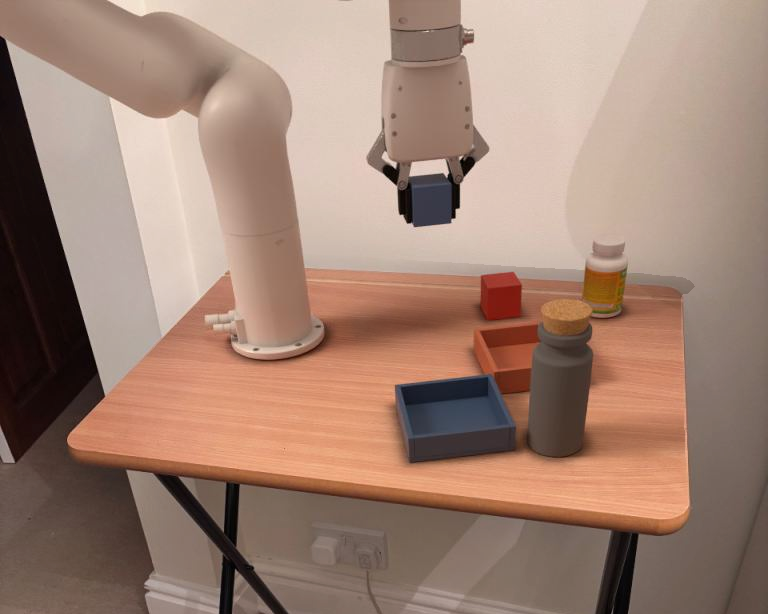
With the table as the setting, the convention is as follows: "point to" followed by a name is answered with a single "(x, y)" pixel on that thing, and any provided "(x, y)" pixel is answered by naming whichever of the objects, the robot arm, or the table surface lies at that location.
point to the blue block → (430, 199)
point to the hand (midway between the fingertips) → (429, 216)
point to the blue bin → (454, 418)
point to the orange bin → (507, 354)
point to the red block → (500, 295)
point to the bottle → (560, 379)
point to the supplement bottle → (605, 276)
